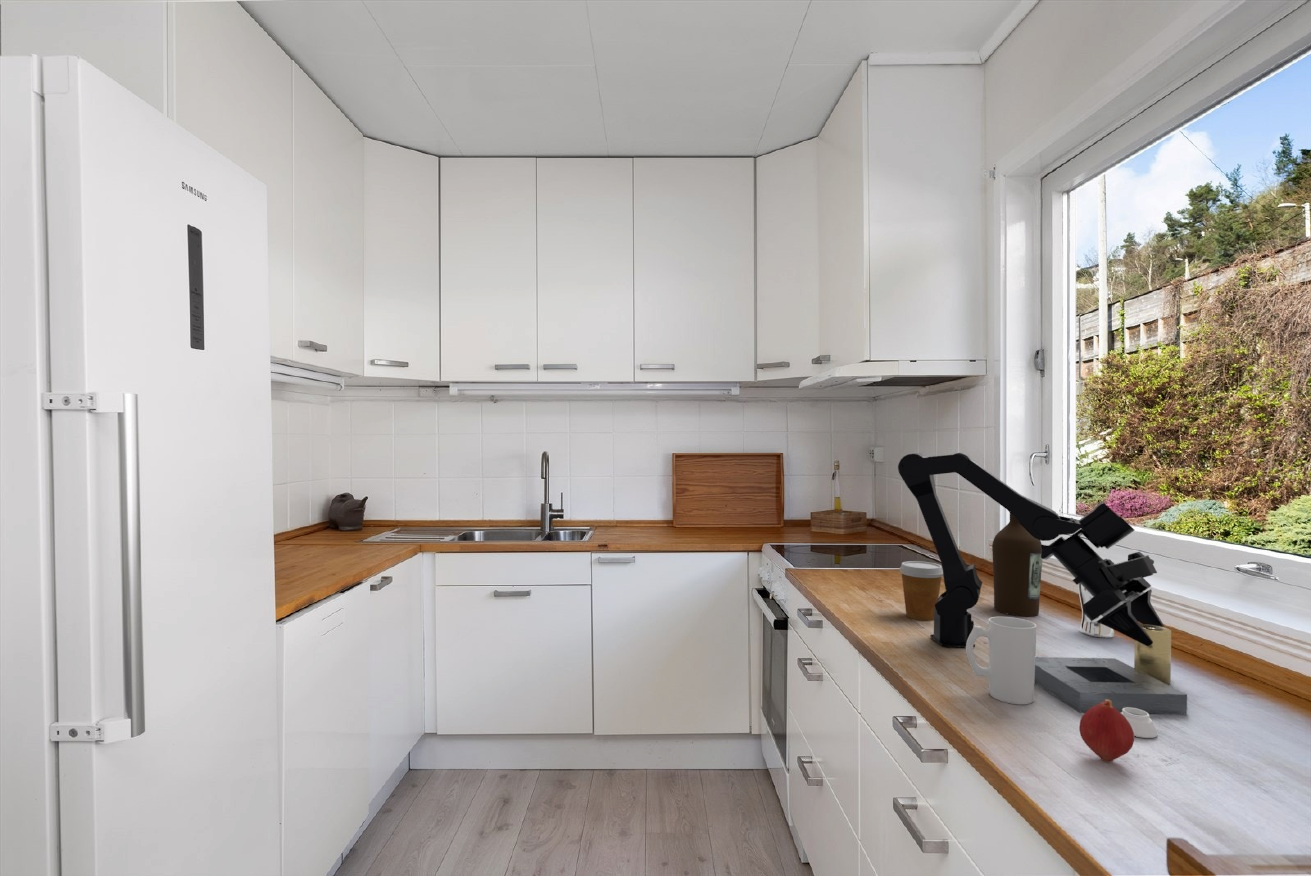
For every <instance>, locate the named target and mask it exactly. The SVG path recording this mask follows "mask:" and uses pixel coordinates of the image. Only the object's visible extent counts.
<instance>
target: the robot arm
mask: <svg viewBox="0 0 1311 876" xmlns="http://www.w3.org/2000/svg"><path fill="white" fill-rule="evenodd" d="M897 470H898V473H899V476H900V477H901V478H902V481H903V482H904V484H905V485H906V487H907V488H908V490H909V491H910V493H912V495H913V497H914V498H915V499H916V502H917V504H918V506H919V508H920V511H921V513H922V514H921V515H922V517H923V519H924V522H925V525H926V527H927V530H928V532H929V534H930V537H931V540H932V543H933V545H934V548H935V550H936V553H937V555H938V558H939V560H940V563H941V566H942V570H943V576H942V578H943V584H944V588H945V589H944V592H943V593H941V594H939V598H938V600H937V602H936V604H935V608H936V609H934V620H933V634H930V639H932V640H933V641H935V642H936V643H937V644H938V645H940V646H942V647H946V648H948V647H949V648H955V647H956V648H966V643H967V640H968V637H969V635H970V633H971V632H972V630H973V626H974V625H975V622H974V620H973V619H972V613H970V612H969V611H968V610H969V609H972V608H974V607H975V606H976V605H977V603H978V602H979V598H980V595H981V591H982V590H981V588H982V585H983V581H982V580H981V579H980V578H979V576H978V573H977V568H976V564H975V563H974V564H971V565H968V564H967V563H966V562H965V560H964V559H963V557H962V556H961V553H960V551H959V548H958V545H957V543H956V540H955V537H954V535H953V532H952V530H951V527H950V524H949V522H948V520H947V516H946V515H945V512H944V510H943V507H942V504H941V502H940V500H939V496H938V495H937V491H936V490H937V488H936V482H935V475H943V474H954V473H956V474H958V475H959V476H960V477H962V478H964V480H966V481H967V482H969V483H971V485H973V486H974V487H976V488H977V489H979V491H981V492H982V493H984V494H985V495H987V496H988V497H989V498H991V499H992V500H993V501H995V502H996V503H997V504H999V505H1000V506H1001V507H1003V508H1004V509H1006V510H1007V512H1009V514H1010V513H1011V514H1012V515H1013V516H1014V517H1015V518H1016V520H1017V521H1018V522H1019V523H1020V524H1021V525H1022V526H1023V527H1024V528H1025V529H1026V530H1027V531H1028V532H1029V533H1030V534H1031V535H1032V536H1033V537H1034V538H1036V539H1038V540H1040V541H1041V542H1042V541H1043V542H1044V541H1045V542H1046V541H1047V542H1048V541H1052V543H1050V544H1048V545H1046V544H1042V545H1041V549H1042V553H1041V558H1042V560H1049V559H1050V558H1052V557H1053V556H1054V557H1055V559H1056V560H1057V561H1058V562H1059V563H1060V564H1061V565H1062V566H1063V567H1064V568H1065V569H1066V570H1067V571H1068V572H1069V573H1070V574H1071V576H1073V579H1072V582H1073V583H1074V584H1075V585H1077V586H1078V584H1080V583H1081V584H1082V586H1083V587H1084V588H1085V589H1086V590H1087V591H1088V592H1089V593H1090V594H1091V595H1092V596H1093V598H1091V600H1089V601H1088V602H1086V603H1085V604H1083V613H1084V614H1085V615H1086V616H1087V617H1088V618H1089V619H1090V620H1091V621H1093V620H1095V619H1097V618H1098V617H1099V616H1100V615H1102V616H1103V617H1102V618H1101V619H1099V620H1098V621H1096V622H1097V623H1099V624H1100V623H1101V624H1103V625H1105V626H1107V627H1109V628H1111V629H1113V631H1116V632H1118V633H1120V634H1123V636H1127V638H1128V637H1129V638H1130V639H1132V640H1134V641H1135V640H1136V641H1138V642H1140V643H1142V644H1144V645H1146V646H1149V645H1151V644H1153V641H1152V640H1151V638H1150V637H1149V635H1148V634H1147V633H1146V631H1145V630H1144V629H1143V628H1142V626H1141V625H1140V624H1148V625H1156V626H1161V627H1164V628H1166V626H1165V624H1164V623H1163V621H1162V619H1161V618H1160V617H1159V615H1158V613H1157V612H1156V610H1155V608H1154V606H1153V605H1152V602H1151V596H1152V592H1153V591H1152V588H1151V587H1152V584H1151V583H1150V582H1149V581H1147V580H1146V579H1145V578H1146V577H1150V576H1153V575H1154V574H1157V573H1158V571H1157V570H1156V567H1155V565H1154V563H1155V560H1154V559H1152V558H1150V556H1149V555H1148V554H1147V555H1144V554H1143V553H1142V552H1141V551H1136V552H1133V553H1132V552H1131V553H1129V554H1128V555H1127V560H1125V561H1122V562H1118V563H1114V561H1112V560H1111V559H1109V558H1105V559H1103V558H1102V557H1101V556H1100V555H1099V554H1098V552H1096V551H1095V550H1094V549H1093V548H1092V547H1091V546H1090V545H1089V544H1088V543H1087V542H1086V541H1085V540H1084V539H1083V538H1082V537H1081V536H1082V535H1083V536H1084V537H1085V538H1086V540H1088V542H1090V543H1091V544H1092V545H1093V546H1094V547H1095V548H1096V549H1099V548H1101V549H1102V548H1105V549H1106V550H1109V549H1110V548H1111V547H1113V546H1115V545H1116V544H1118V543H1119V542H1121V541H1122V540H1123V539H1125V538H1126V537H1127V536H1129V535H1131V534H1132V533H1133V532H1134V531H1136V530H1135V529H1134V528H1133V527H1132V526H1131V525H1130V524H1129V523H1128V522H1127V521H1126V520H1125V519H1124V518H1122V516H1120V515H1119V514H1118V513H1115V511H1113V510H1112V509H1111V508H1110V507H1109V506H1108V505H1107V504H1106V503H1105V502H1102V501H1101V502H1100V503H1098V504H1097V505H1096V506H1095V507H1094V508H1093V509H1092V510H1091V511H1089V512H1088V513H1087V514H1085V515H1084V516H1083V517H1081V518H1079V519H1075V518H1073V517H1067V516H1061V515H1059V514H1058V513H1057V512H1056V511H1055V510H1053V509H1051V508H1049V507H1047V506H1045V505H1043V504H1042V503H1039V502H1037V501H1035V500H1033V499H1031V498H1028V497H1027V496H1024V495H1022V494H1020V493H1019V492H1017V490H1015V489H1013V488H1012V487H1011V486H1010V485H1008V484H1006V483H1005V482H1004V481H1002V480H1001V479H999V478H998V477H997V476H995V475H994V474H992V473H991V472H989V471H988V470H987V469H986V468H984V467H983V466H982V465H980V464H979V463H977V462H975V461H974V460H973V459H972V458H971V457H970V456H969V455H968V454H966V453H963V452H956V453H954V454H946V455H935V456H934V455H933V456H926V454H923V453H917V452H916V453H914V452H913V453H909V454H906V455H904V456H902V458H900V460H899V462H898V464H897ZM1061 535H1062V536H1061ZM1063 535H1064V536H1065V535H1070V536H1069V537H1067V538H1065V537H1063ZM1055 539H1056V540H1055ZM1053 540H1054V541H1053ZM1148 589H1149V590H1148ZM975 647H976V644H975V643H974V645H973V648H975Z"/></svg>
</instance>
